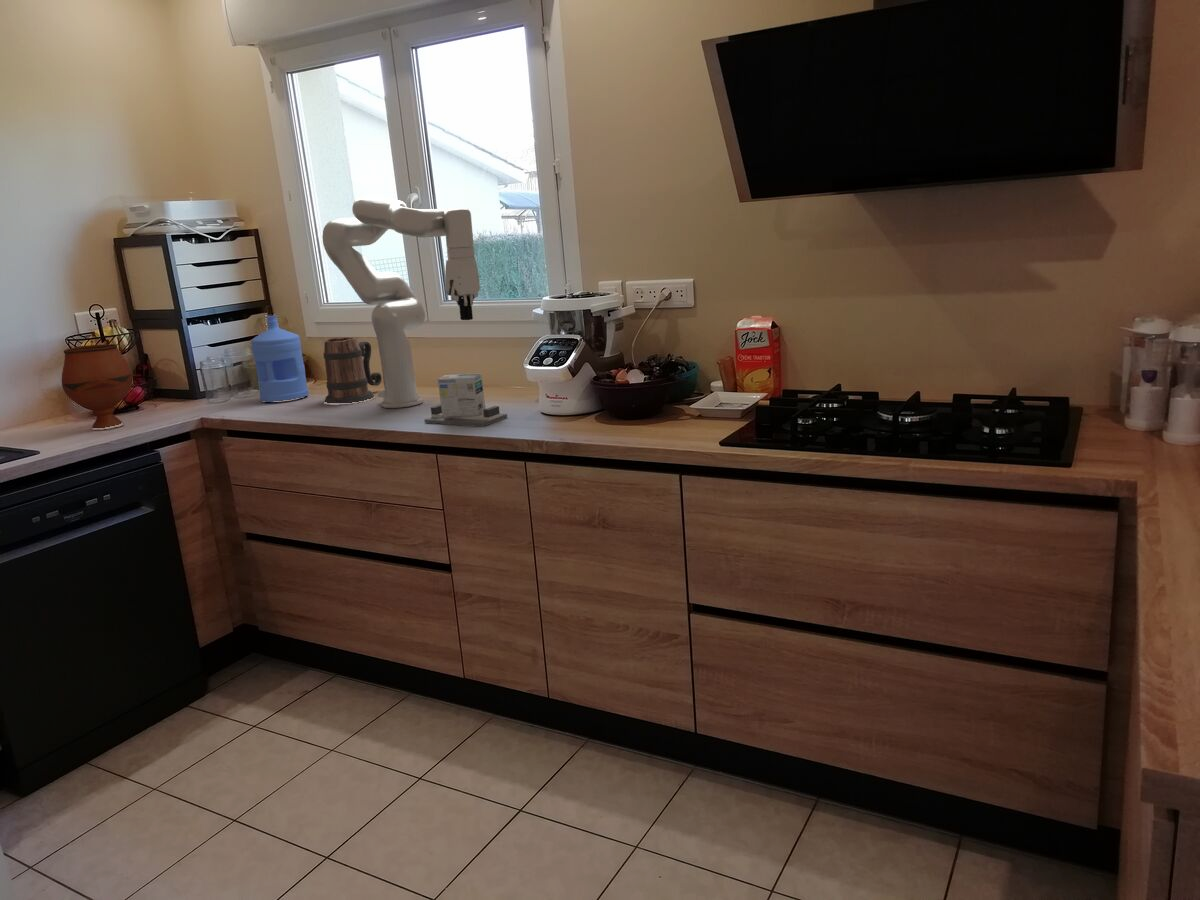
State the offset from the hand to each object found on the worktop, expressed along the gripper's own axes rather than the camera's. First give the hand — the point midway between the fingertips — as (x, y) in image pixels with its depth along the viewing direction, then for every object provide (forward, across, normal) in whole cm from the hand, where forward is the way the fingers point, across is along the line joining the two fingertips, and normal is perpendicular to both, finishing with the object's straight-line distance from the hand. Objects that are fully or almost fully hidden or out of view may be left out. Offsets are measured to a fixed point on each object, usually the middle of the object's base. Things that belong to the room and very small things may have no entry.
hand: (466, 319), depth 248 cm
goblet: (+29, +50, -103) cm, 119 cm away
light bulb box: (+24, +14, +8) cm, 29 cm away
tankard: (+28, -4, -53) cm, 60 cm away
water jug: (+28, +3, -80) cm, 85 cm away
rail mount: (+26, +14, +8) cm, 31 cm away
